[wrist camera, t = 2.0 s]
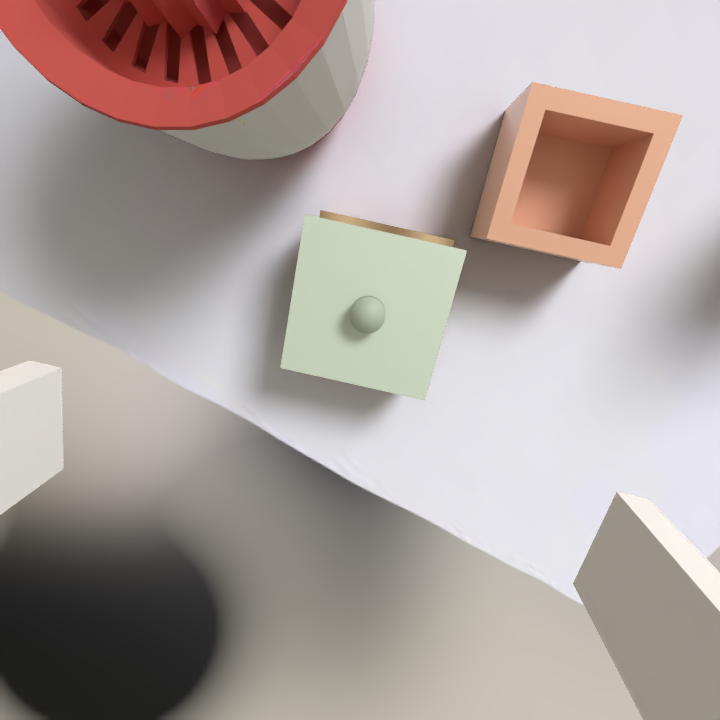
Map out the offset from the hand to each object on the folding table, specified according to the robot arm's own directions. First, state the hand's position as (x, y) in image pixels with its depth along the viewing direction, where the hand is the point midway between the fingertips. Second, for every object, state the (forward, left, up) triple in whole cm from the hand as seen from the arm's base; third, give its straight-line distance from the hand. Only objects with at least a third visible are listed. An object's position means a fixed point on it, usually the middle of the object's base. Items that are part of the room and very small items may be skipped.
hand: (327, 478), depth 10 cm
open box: (+11, +11, -26) cm, 31 cm away
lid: (0, 0, -23) cm, 23 cm away
